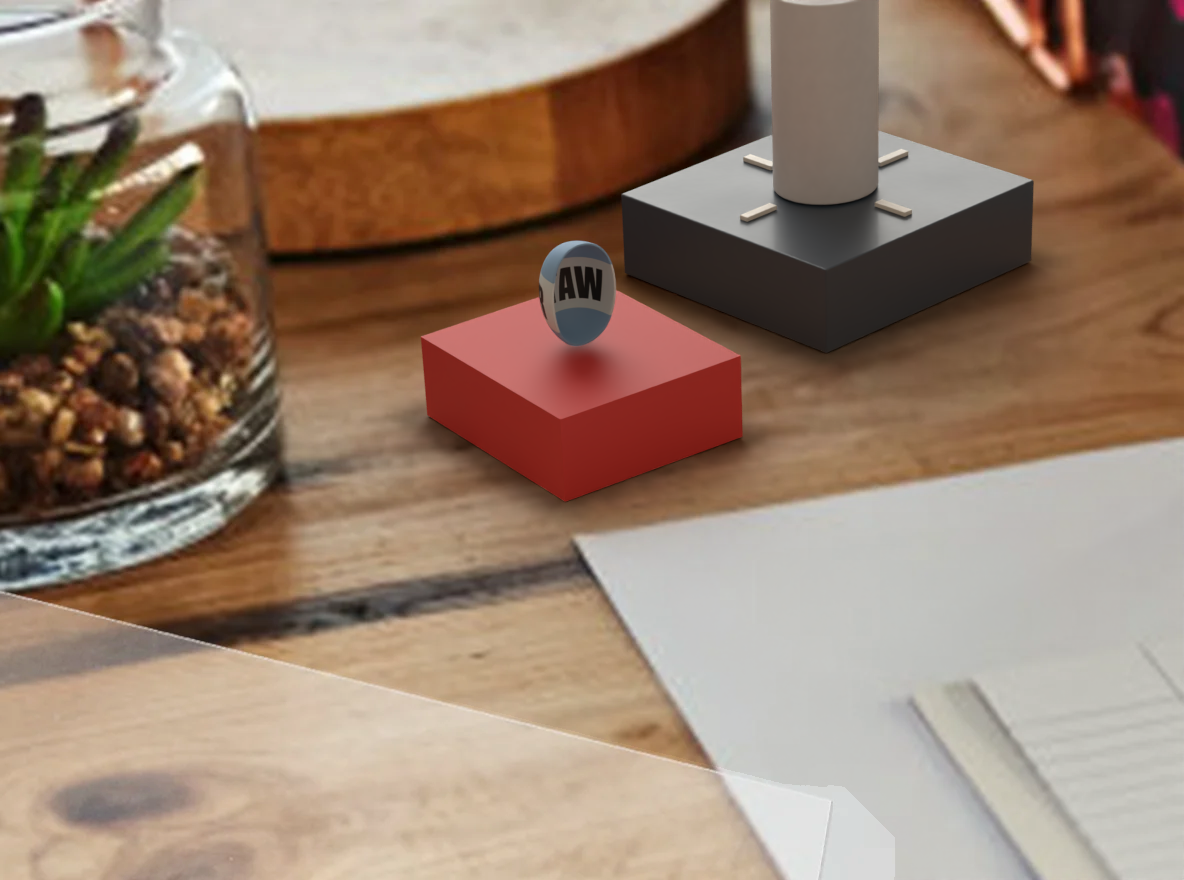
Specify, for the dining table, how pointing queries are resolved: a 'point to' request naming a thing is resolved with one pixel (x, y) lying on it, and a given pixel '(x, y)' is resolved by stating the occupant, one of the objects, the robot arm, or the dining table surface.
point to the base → (828, 240)
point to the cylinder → (825, 99)
